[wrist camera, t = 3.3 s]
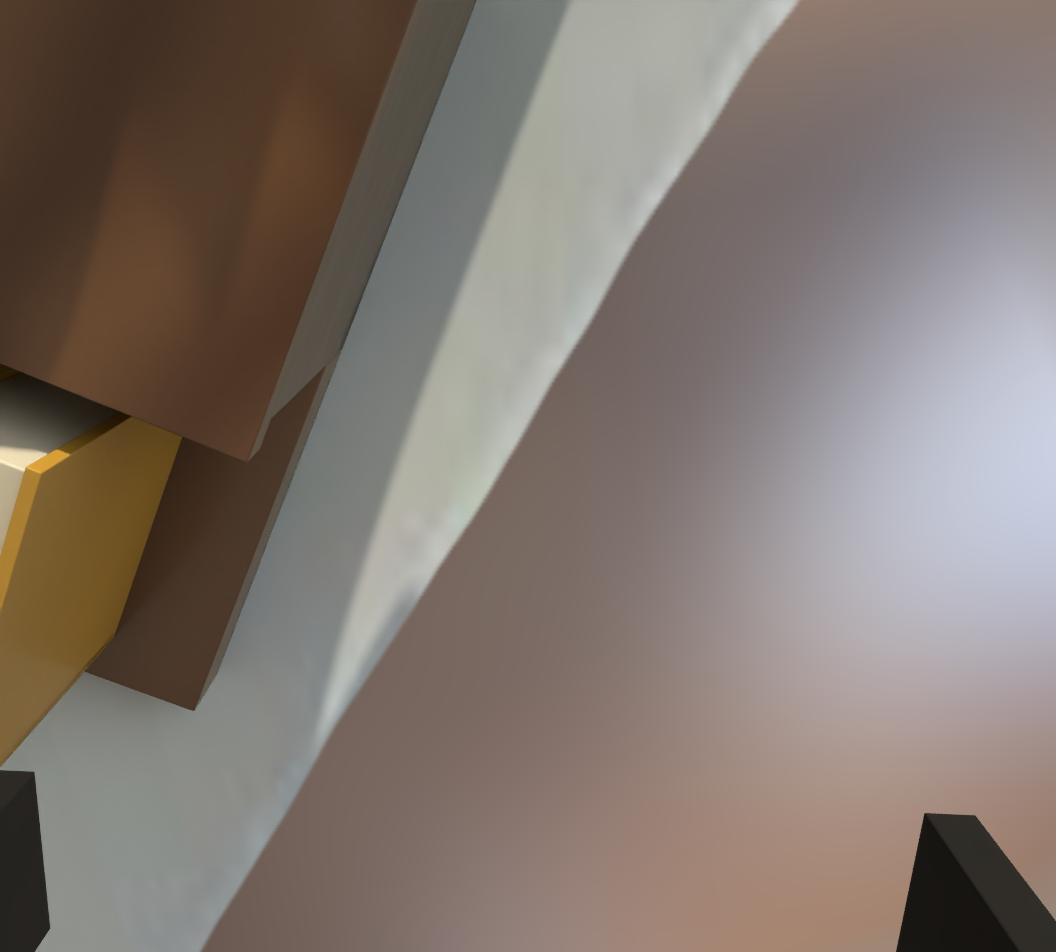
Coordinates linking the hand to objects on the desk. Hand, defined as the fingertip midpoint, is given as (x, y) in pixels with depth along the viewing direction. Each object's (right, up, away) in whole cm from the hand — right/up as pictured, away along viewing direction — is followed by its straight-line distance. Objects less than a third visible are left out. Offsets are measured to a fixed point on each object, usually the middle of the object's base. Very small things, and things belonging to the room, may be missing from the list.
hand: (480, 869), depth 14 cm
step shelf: (-12, +13, +22) cm, 28 cm away
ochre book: (-15, +5, +21) cm, 27 cm away
